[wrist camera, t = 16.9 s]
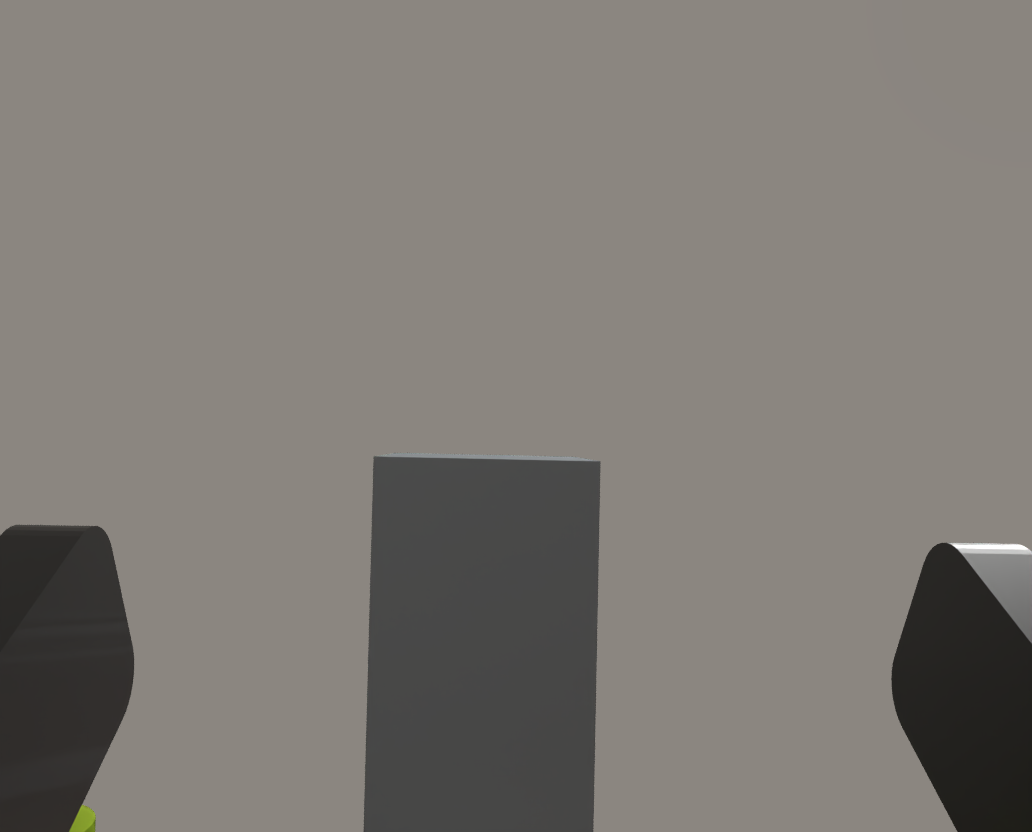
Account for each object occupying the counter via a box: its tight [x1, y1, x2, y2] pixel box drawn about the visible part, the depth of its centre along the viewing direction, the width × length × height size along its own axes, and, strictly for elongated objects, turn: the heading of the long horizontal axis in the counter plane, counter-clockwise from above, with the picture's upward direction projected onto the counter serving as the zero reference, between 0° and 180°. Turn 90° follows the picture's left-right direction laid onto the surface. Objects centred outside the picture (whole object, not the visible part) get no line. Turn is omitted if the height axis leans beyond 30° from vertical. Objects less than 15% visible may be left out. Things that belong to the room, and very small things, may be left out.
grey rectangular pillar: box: [364, 453, 600, 832], centre depth 49 cm, size 14×14×32 cm
